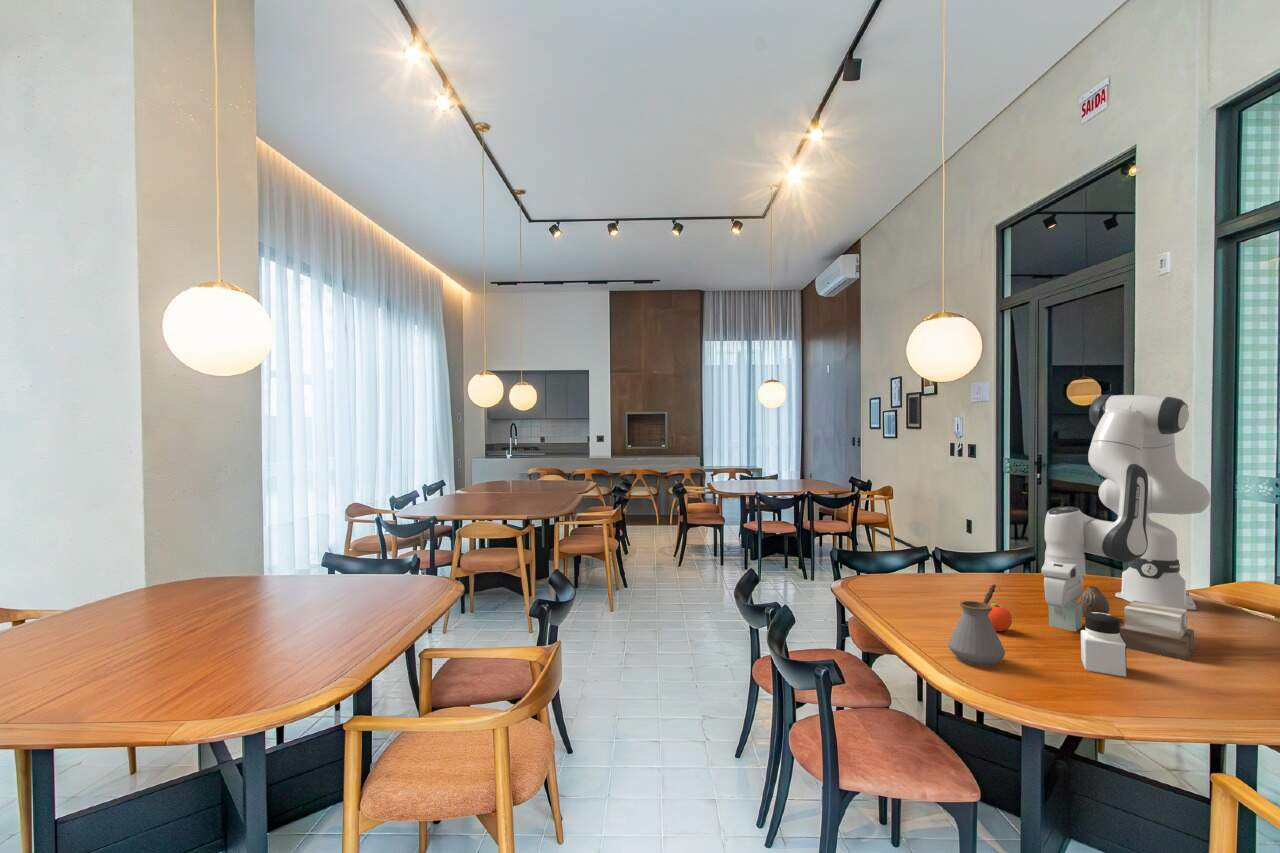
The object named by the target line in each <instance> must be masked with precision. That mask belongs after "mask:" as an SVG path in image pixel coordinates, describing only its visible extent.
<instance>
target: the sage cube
mask: <svg viewBox="0 0 1280 853" xmlns="http://www.w3.org/2000/svg"><path fill="white" fill-rule="evenodd" d="M1064 614H1065V620H1064V621H1063V622H1061V621H1057V620H1056V614H1055V611H1054V606H1050V605H1048V627H1052V626H1053V628H1057V629H1062V628H1063V630H1066V629H1067V631H1071V630H1072V632H1077V631H1078V630H1081V628H1083V614H1082V605H1079V603H1076V604H1074V603H1069V604H1067V605H1065V606H1064Z"/></svg>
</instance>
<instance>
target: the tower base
mask: <svg viewBox="0 0 1280 853" xmlns="http://www.w3.org/2000/svg"><path fill="white" fill-rule="evenodd" d="M1120 637H1121V638H1122V640H1123V641H1124V643H1125V644H1126V649H1128V650H1133V651H1137V650H1138V651H1139V652H1142V653H1147V654H1152V655H1156V656H1160V655H1161V657H1165V658H1170V659H1174V660H1178V659H1180V661H1184V662H1187V661H1188V660H1189V658H1190V657H1191V655H1192V654H1193V652H1194V650H1195V630H1194V629H1192V628H1187V631H1186V632H1185V634H1184V635H1183V636H1182V637H1181V639H1176V638H1171V637H1166V636H1161V635H1156V634H1151V633H1146V632H1141V631H1136V630H1131V629H1126V628H1125V622H1124V623H1123V624H1122V625H1120ZM1187 659H1188V660H1187Z"/></svg>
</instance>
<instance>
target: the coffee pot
mask: <svg viewBox="0 0 1280 853" xmlns="http://www.w3.org/2000/svg"><path fill="white" fill-rule="evenodd" d="M996 588H998V589H999V590H995V589H996ZM988 590H989V591H987V593H986V594H985V597H984V599H983V601H982V602H980V601H974V600H973V601H972V600H971V601H970V600H964V601H960V602H959V606H961V609H962V614H961V615H960V617H959V619H958V621H957V623H956V626H955V627H954V630H953V632H952V634H951V636H950V638H949V640H948V642H947V645H948V648H949V650H950V651H951V653H952V654H953V655H954V656H956V657H957V659H958V660H959V661H961V662H963V663H965V664H968V665H972V666H977V667H994V666H996V664H997V663H999V662H1001V661H1002V660H1003V659H1004V657H1005V655H1006V651H1005V649H1004V646H1003V644H1002V642H1001V639H1000V637H999V636H998V634H997V631H995V629H994V627H993V625H992V623H991V620H990V618H989V616H988V614H989V613H990V611H991V610H992V607H991V606H990V605H988V604H990V601H991V599H992V597H993V594H994V593H995V592H996V593H997V592H1000V591H1001V588H1000V586H999V585H996V584H995V583H993V584H992V585H990V586H989V588H988Z"/></svg>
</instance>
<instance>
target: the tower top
mask: <svg viewBox="0 0 1280 853" xmlns="http://www.w3.org/2000/svg"><path fill="white" fill-rule="evenodd" d="M1123 614H1124V623H1125V628H1126V629H1131V630H1136V631H1141V632H1146V633H1151V634H1156V635H1161V636H1166V637H1171V638H1176V639H1181V637H1182V636H1183V635H1184V634H1185V632H1186V631H1187V629H1188V609H1181V608H1175V607H1169V606H1164V605H1158V604H1152V603H1146V602H1140V601H1132V602H1129V604H1127V605H1126V606H1124V608H1123Z"/></svg>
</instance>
